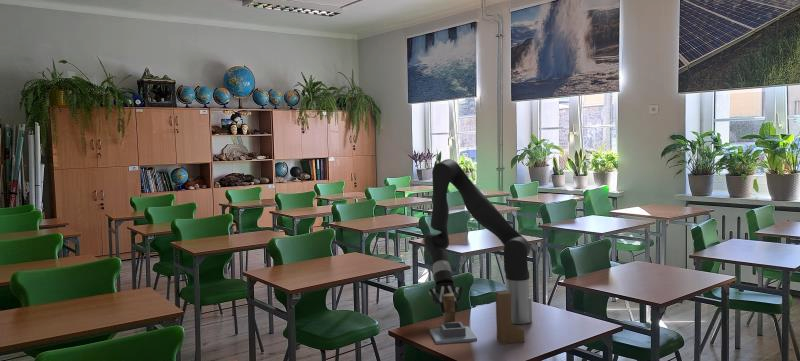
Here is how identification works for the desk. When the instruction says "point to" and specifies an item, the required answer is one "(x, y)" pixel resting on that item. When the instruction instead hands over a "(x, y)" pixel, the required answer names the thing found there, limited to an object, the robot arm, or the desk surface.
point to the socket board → (452, 333)
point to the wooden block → (506, 320)
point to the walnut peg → (448, 308)
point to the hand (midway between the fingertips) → (449, 311)
